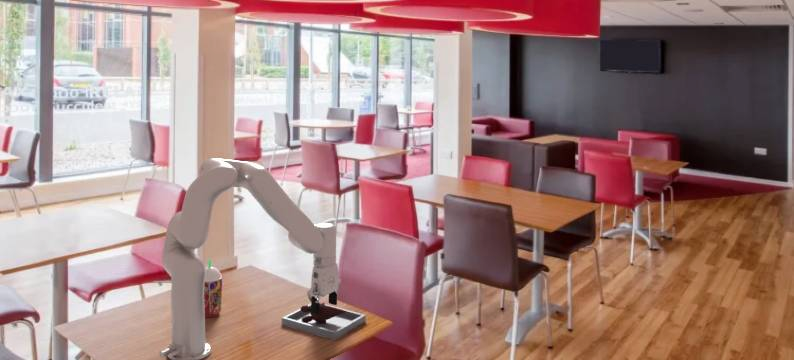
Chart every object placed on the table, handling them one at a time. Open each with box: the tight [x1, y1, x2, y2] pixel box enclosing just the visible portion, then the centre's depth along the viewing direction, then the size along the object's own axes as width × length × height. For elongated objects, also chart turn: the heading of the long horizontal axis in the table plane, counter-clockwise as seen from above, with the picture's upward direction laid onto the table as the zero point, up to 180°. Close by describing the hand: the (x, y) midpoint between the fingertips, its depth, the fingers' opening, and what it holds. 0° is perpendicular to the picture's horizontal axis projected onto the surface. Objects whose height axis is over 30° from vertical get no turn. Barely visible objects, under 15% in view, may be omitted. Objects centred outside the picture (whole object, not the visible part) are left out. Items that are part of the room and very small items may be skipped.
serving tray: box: [281, 303, 367, 341], centre depth 223 cm, size 18×22×2 cm
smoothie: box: [204, 258, 223, 318], centre depth 226 cm, size 8×8×20 cm
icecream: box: [300, 302, 346, 323], centre depth 222 cm, size 7×7×15 cm
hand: (324, 308), depth 222 cm, fingers open, 9 cm apart
